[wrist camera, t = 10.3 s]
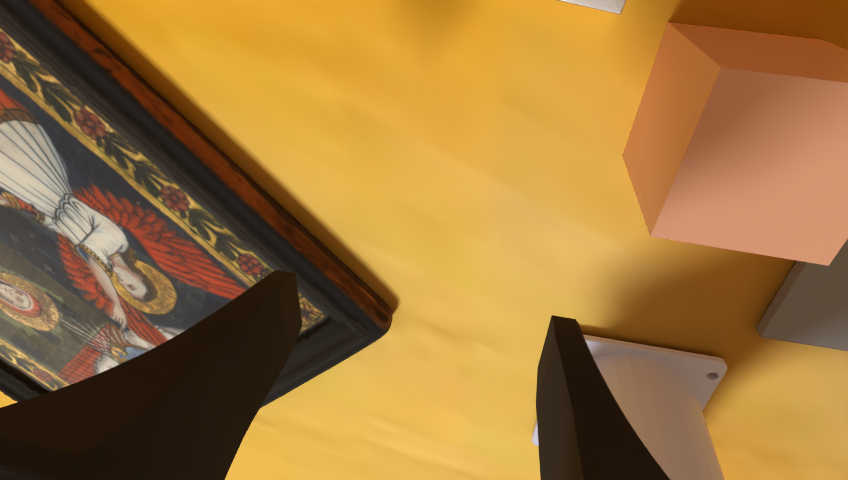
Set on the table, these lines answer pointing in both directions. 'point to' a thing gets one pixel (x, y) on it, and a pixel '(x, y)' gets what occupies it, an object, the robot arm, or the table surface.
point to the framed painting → (135, 221)
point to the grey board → (811, 305)
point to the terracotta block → (744, 143)
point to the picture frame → (600, 4)
